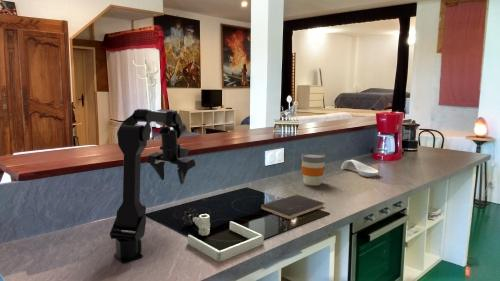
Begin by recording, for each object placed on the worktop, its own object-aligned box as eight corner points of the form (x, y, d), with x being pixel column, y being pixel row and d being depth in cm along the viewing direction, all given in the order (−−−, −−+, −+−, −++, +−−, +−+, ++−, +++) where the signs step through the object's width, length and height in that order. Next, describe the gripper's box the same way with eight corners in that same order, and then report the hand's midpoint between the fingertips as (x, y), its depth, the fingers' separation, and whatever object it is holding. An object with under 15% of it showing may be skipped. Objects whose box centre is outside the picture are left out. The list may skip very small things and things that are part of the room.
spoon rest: (382, 176, 215) (383, 164, 214) (369, 179, 208) (370, 167, 207) (348, 168, 233) (349, 157, 232) (336, 170, 226) (337, 159, 225)
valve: (215, 233, 133) (197, 222, 142) (215, 215, 132) (197, 206, 141) (199, 238, 129) (182, 227, 138) (199, 219, 128) (181, 209, 137)
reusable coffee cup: (329, 184, 197) (330, 156, 194) (311, 187, 190) (313, 158, 187) (312, 178, 207) (313, 151, 204) (295, 181, 200) (296, 154, 197)
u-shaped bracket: (219, 262, 112) (219, 252, 112) (187, 243, 124) (187, 235, 123) (263, 243, 125) (263, 235, 124) (231, 228, 137) (231, 221, 136)
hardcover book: (324, 208, 162) (324, 202, 162) (288, 220, 147) (289, 215, 147) (295, 198, 174) (296, 194, 174) (260, 209, 158) (260, 204, 158)
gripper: (202, 140, 142) (204, 178, 147) (164, 134, 150) (166, 170, 155) (184, 148, 133) (187, 189, 137) (144, 141, 141) (148, 180, 145)
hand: (172, 181), depth 144 cm, fingers open, 9 cm apart
